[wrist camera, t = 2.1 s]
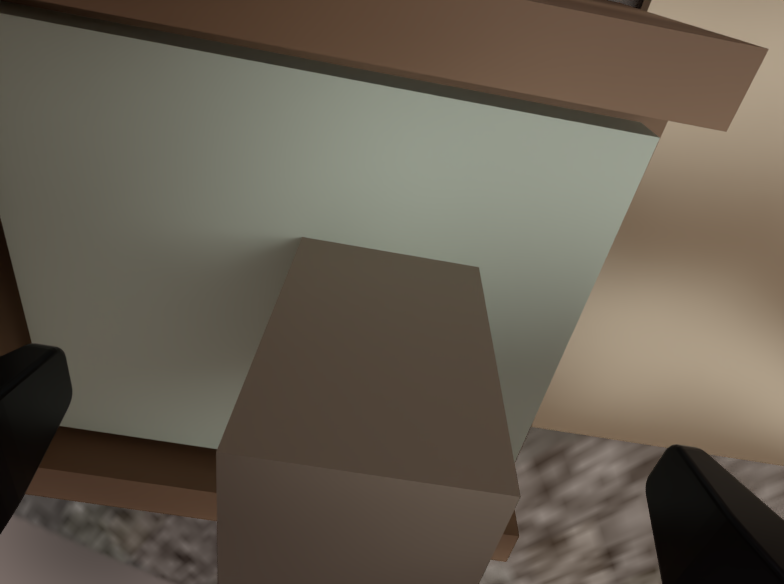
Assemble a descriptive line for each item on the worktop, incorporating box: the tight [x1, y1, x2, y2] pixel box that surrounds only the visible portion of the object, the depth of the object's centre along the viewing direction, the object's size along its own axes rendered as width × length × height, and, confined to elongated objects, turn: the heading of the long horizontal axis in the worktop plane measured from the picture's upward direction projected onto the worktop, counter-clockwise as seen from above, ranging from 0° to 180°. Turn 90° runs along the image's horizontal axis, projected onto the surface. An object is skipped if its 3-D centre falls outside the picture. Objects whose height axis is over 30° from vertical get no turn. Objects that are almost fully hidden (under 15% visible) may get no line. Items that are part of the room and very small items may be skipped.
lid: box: [0, 1, 660, 584], centre depth 8 cm, size 8×10×5 cm
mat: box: [531, 0, 784, 466], centre depth 14 cm, size 13×12×1 cm
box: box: [0, 0, 769, 562], centre depth 11 cm, size 11×12×6 cm
